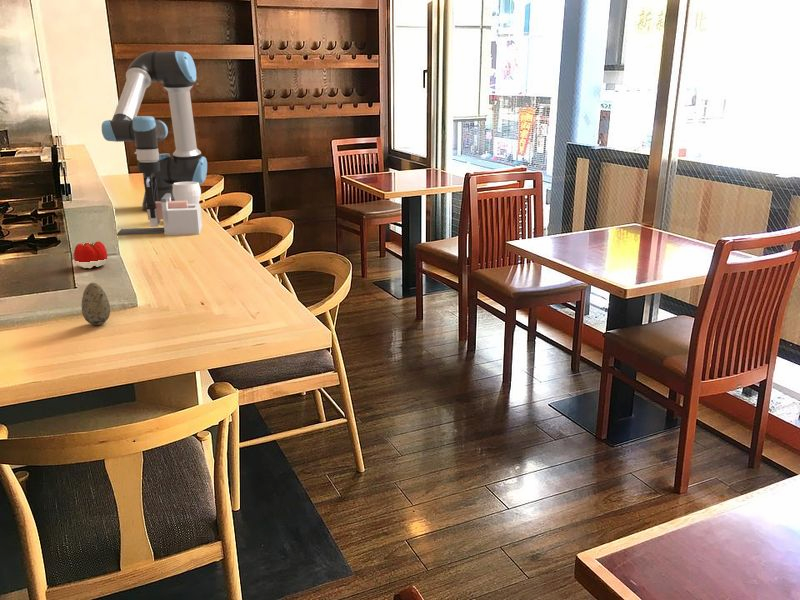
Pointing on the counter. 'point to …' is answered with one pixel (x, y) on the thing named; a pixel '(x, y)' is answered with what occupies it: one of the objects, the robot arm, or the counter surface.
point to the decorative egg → (95, 305)
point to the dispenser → (181, 218)
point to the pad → (141, 231)
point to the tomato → (90, 252)
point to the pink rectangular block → (170, 206)
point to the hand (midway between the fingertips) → (155, 225)
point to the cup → (187, 192)
